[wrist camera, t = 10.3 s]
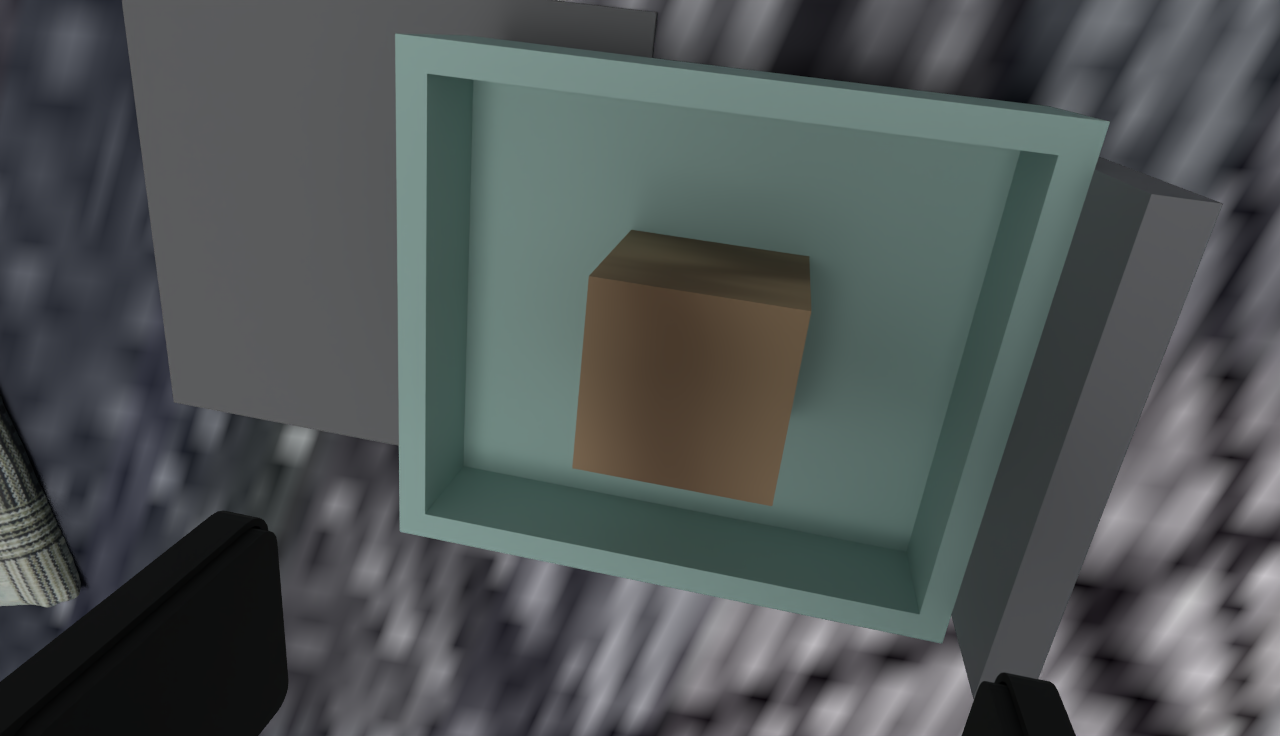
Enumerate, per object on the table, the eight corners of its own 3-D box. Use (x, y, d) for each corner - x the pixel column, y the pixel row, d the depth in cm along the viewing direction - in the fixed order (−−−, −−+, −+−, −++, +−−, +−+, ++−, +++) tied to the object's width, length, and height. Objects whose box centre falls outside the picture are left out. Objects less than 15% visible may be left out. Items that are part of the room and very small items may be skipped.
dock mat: (657, 12, 24) (656, 12, 24) (607, 482, 31) (606, 485, 30) (120, -50, 27) (115, -50, 26) (177, 400, 33) (173, 402, 33)
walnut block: (809, 256, 22) (811, 311, 18) (777, 418, 24) (771, 506, 20) (631, 229, 23) (588, 276, 18) (614, 390, 25) (572, 468, 20)
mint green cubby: (1072, 106, 23) (1245, 146, 14) (947, 522, 28) (1013, 741, 19) (493, 36, 25) (324, 32, 16) (479, 434, 31) (347, 595, 22)
